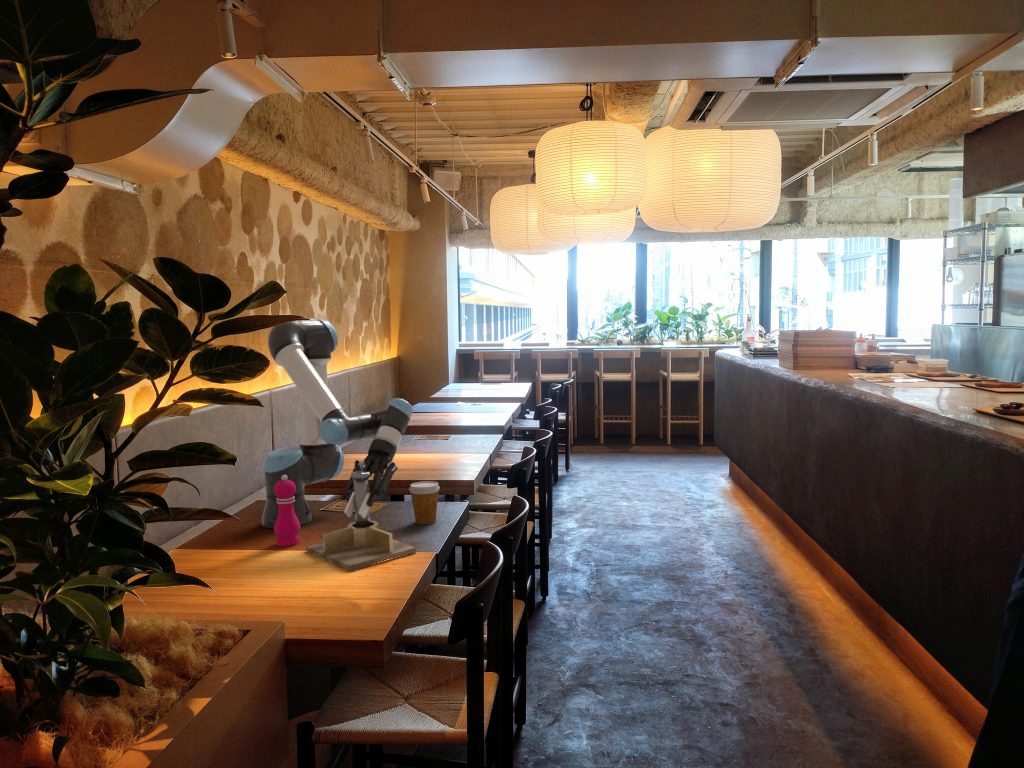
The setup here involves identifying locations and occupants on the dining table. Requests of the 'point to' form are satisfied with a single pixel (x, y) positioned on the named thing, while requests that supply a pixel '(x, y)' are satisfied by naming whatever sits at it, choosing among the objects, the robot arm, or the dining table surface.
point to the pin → (361, 496)
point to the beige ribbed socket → (358, 538)
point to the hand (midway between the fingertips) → (354, 515)
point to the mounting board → (359, 554)
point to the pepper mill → (286, 514)
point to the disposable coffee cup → (424, 501)
